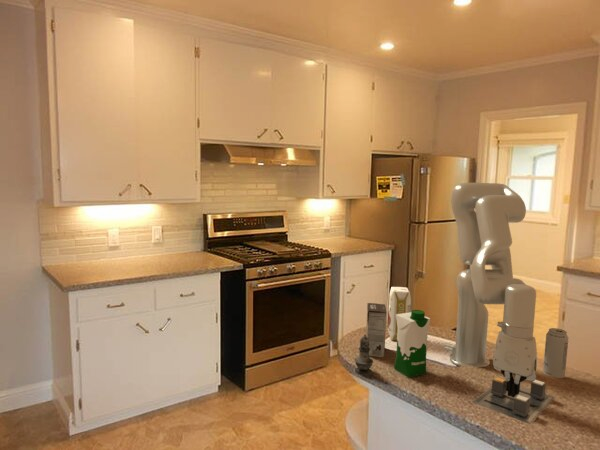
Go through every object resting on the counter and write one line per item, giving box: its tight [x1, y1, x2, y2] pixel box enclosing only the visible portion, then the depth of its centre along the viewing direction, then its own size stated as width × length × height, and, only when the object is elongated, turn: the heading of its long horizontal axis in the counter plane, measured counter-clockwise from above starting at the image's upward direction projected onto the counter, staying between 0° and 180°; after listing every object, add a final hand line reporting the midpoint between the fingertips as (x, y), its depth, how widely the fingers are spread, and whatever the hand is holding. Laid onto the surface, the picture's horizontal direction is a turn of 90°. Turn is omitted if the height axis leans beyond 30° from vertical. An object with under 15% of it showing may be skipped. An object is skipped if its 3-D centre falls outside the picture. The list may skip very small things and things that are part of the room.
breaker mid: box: [491, 376, 507, 397], centre depth 127 cm, size 3×4×4 cm
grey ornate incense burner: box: [354, 334, 374, 376], centre depth 142 cm, size 6×6×12 cm
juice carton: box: [387, 286, 412, 341], centre depth 172 cm, size 8×9×19 cm
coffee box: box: [365, 302, 387, 358], centre depth 158 cm, size 9×6×16 cm
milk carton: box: [394, 309, 432, 378], centre depth 142 cm, size 9×9×20 cm
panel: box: [471, 385, 556, 425], centre depth 124 cm, size 15×20×1 cm
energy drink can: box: [542, 327, 569, 379], centre depth 141 cm, size 6×6×15 cm
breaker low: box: [512, 395, 530, 417], centre depth 116 cm, size 3×4×4 cm
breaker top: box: [530, 379, 547, 400], centre depth 125 cm, size 3×4×4 cm
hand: (512, 394), depth 124 cm, fingers closed
